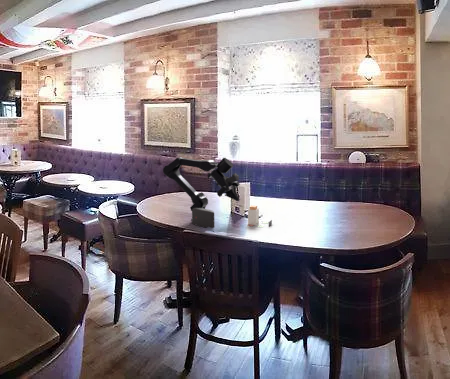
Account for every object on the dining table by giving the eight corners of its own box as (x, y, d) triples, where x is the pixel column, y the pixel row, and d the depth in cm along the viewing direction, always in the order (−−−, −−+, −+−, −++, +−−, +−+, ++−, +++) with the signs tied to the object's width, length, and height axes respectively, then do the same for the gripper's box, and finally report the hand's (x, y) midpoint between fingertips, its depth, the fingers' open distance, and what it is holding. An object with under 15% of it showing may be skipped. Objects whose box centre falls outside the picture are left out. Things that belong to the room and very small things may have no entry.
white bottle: (247, 224, 214) (247, 206, 213) (250, 222, 218) (250, 205, 217) (255, 224, 212) (255, 207, 211) (258, 222, 216) (258, 205, 215)
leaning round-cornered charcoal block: (218, 228, 212) (218, 210, 210) (212, 230, 208) (212, 212, 207) (197, 223, 223) (197, 206, 221) (191, 224, 219) (191, 208, 218)
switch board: (239, 227, 213) (239, 220, 212) (246, 222, 223) (246, 216, 222) (267, 230, 207) (267, 223, 206) (273, 225, 217) (273, 218, 216)
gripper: (222, 171, 207) (242, 194, 205) (236, 167, 223) (255, 188, 221) (209, 185, 212) (227, 208, 209) (223, 179, 228) (241, 200, 226)
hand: (238, 200), depth 216 cm, fingers closed
